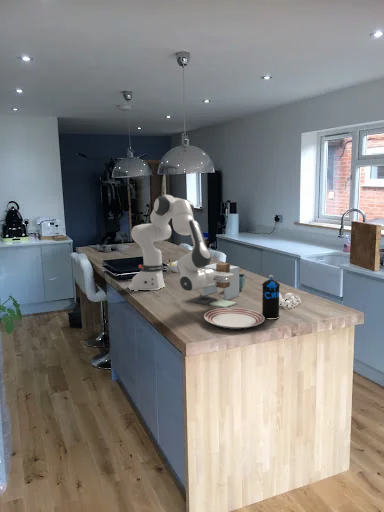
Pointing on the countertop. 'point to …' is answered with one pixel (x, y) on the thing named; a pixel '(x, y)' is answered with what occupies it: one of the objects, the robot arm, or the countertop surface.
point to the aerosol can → (270, 298)
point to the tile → (223, 303)
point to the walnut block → (223, 268)
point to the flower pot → (241, 281)
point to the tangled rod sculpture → (288, 296)
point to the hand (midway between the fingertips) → (224, 273)
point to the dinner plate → (234, 318)
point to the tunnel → (229, 291)
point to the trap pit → (204, 299)
